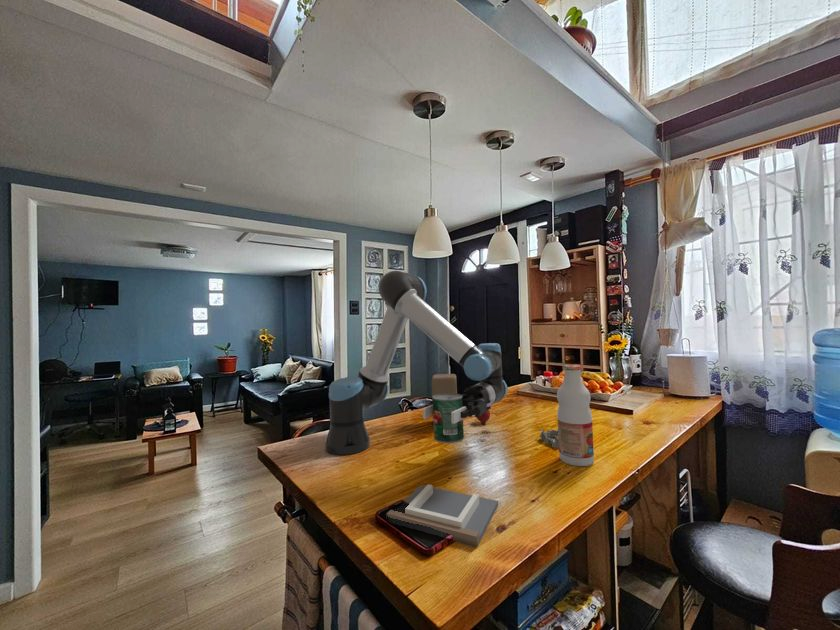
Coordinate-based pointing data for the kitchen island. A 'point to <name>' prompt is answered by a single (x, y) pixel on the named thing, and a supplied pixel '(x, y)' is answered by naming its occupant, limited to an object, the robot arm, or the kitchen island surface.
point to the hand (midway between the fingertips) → (438, 415)
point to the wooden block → (443, 384)
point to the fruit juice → (574, 419)
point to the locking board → (449, 513)
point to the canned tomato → (447, 418)
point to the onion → (484, 416)
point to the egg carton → (549, 440)
